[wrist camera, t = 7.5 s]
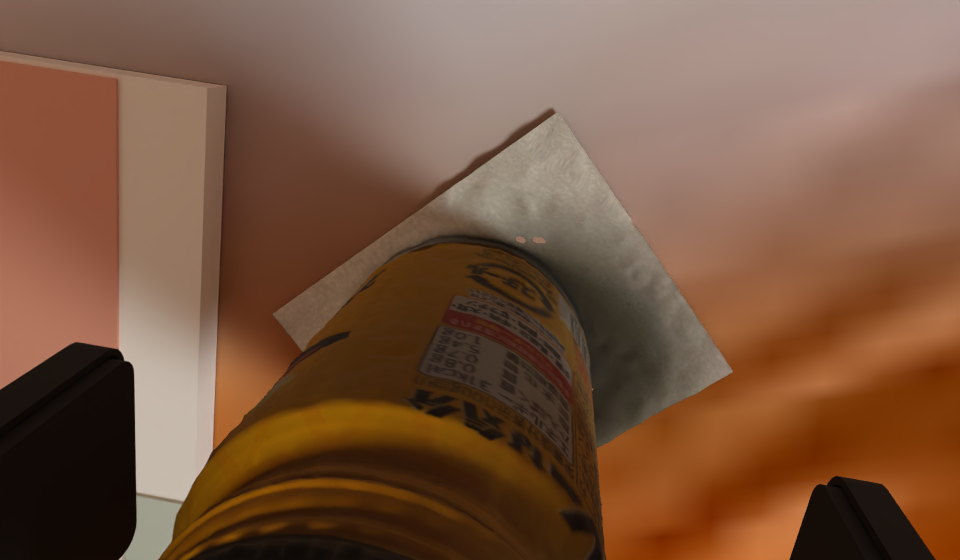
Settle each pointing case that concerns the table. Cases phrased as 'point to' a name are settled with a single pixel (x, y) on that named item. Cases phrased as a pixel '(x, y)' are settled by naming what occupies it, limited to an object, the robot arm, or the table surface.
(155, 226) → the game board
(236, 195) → the table surface
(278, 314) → the condiment
